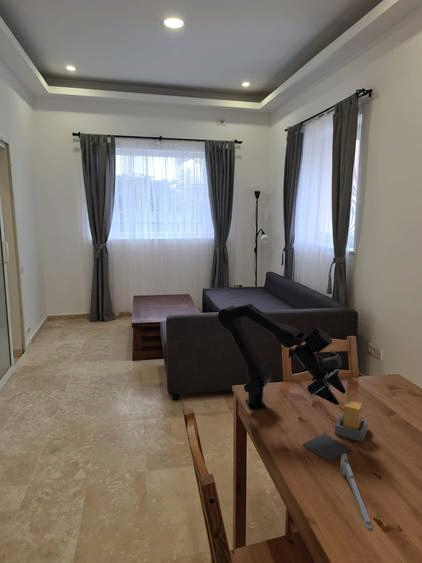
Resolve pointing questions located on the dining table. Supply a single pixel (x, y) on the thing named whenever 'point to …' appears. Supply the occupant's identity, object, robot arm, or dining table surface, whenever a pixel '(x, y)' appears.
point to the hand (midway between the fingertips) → (341, 398)
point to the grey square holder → (351, 430)
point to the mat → (327, 447)
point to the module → (352, 415)
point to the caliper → (354, 489)
